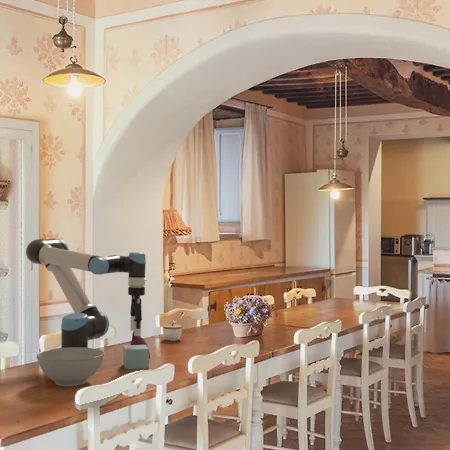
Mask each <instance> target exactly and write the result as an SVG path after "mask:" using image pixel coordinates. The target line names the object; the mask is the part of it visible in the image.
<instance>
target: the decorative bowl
mask: <svg viewBox="0 0 450 450" xmlns="http://www.w3.org/2000/svg"><path fill="white" fill-rule="evenodd" d="M104 358H105V351H103V350H102V349H98V348H93V347H88V348H85V347H67V348H61V347H57V348H50V349H45V350H42V351H40V352H38V353H37V354H36V360H37V362H38V365H39V367H40V369H41V370H42V373H44V375H45V376H47V377H48V378H49V379H50V380H52V381H53V382H54V384H55V385H56V386H59V387H78V386H79V387H80V386H83V385H84V384H85V385H86V383H87V380H89V379H91V378H92V377H93V376H94V375H95V374H96V373H97V371H98V370H99V368H100V367H101V364H102V362H103V360H104Z"/></svg>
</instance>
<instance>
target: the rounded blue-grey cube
mask: <svg viewBox="0 0 450 450" xmlns="http://www.w3.org/2000/svg"><path fill="white" fill-rule="evenodd" d="M147 346H148V345H147ZM147 346H146V345H130V344H129V345H127V344H125V345H123V346H122V347H123V350H122V351H123V353H122V355H123V356H122V357H123V359H122V365H123V366H124V368H125V370H135V369H136V370H139V369H141V370H142V369H144V370H145V369H150V358H149V353H150V348H149V346H148V347H147Z"/></svg>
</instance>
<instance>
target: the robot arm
mask: <svg viewBox="0 0 450 450" xmlns="http://www.w3.org/2000/svg"><path fill="white" fill-rule="evenodd" d="M25 255H26V258H27V259H28V260H29V262H31V263H33V264H37V265H38V264H39V265H44V266H45V269H46V271H49V272H51V273H52V274H53V276H54V278H55V280H56V281H57V283H58V285H59V288H60V289H61V291H62V293H63V294H64V296H65V298H66V299H67V302H68V303H69V305H70V308H71V309H72V311H73V313H70V314H66V315H65V316H63V317H62V319H61V324H60V327H61V344H60V345H61V347H60V348H67V347H85V348H89V347H88V346H89V344H88V343H89V342H88V341H92V340H96V339H97V340H98V339H100V338H101V337H104V336H105V335H106V334H107V333H108V331H109V327H110V319H109V317H108V316H107V314H105V313H104V312H102V311H100V310H99V308H98V307H97V306H96V305H93V304H92V303H91V301H90V300H89V298H88V296H87V294H86V293H85V291H84V288H83V287H82V285H81V284H80V281H79V280H78V278H77V277H76V274H75V273H74V271H73V269H75V270H76V269H77V270H81V271H86V272H91V273H92V274H93V275H99V276H100V275H101V276H102V275H107V274H113V273H115V274H116V273H126V274H128V277H127V278H128V279H127V285H128V287H127V291H128V292H127V295H129V296H131V299H130V301H131V302H130V303H131V304H130V313H129V314H130V331H131V332H133V331H135V332H134V336H141V335H142V320H143V315H142V313H143V312H142V298H141V296H145V294H146V289H145V288H146V287H145V285H146V282H147V279H146V263H147V261H146V253H145V252H140V251H138V252H137V251H133V252H132V251H131V252H129V254H128V256H127V255H115V254H113V255H111V254H110V255H108V256H99V255H95V254H90V253H89V254H88V253H86V252H79V251H74V250H70V249H69V247H68V244H67V243H66V242H65V241H64V240H63V239H59V238H41V239H40V238H39V239H33V240H32V241H30V243H28V244H27V246H26V248H25ZM141 337H142V336H141Z"/></svg>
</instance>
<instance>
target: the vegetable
mask: <svg viewBox="0 0 450 450" xmlns="http://www.w3.org/2000/svg"><path fill="white" fill-rule="evenodd" d="M134 332H135V331H132V337H131V341H130V344H129V345H146V346H147V347H148V348H149V346H148V344H147V342H146V340H145V339H144V338H143V337H142V336H134ZM150 353H151V352H149V359H150V358H151V354H150Z"/></svg>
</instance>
